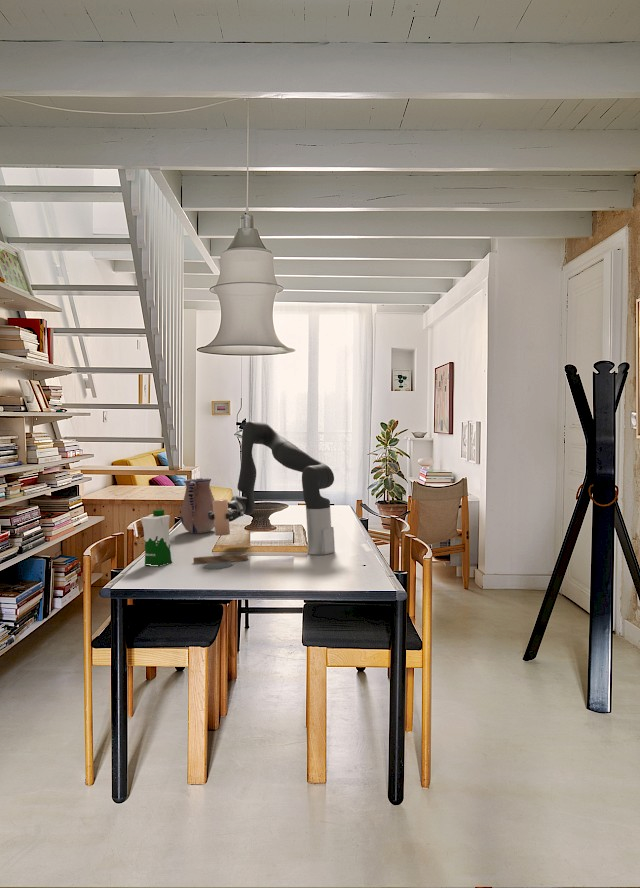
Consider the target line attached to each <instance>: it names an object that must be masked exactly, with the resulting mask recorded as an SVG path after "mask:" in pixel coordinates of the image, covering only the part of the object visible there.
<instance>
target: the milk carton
mask: <svg viewBox="0 0 640 888" xmlns="http://www.w3.org/2000/svg"><path fill="white" fill-rule="evenodd" d="M170 516H171V515H170V514H168V515H167V514H165V509H154V510H152V515H146V516H144V517H140V521H141V524H142V528H143V539H144V540H143V541H144V565H145V564H151V565H158V566H160V565H163V564H166V565H168V564H167V563H169V564H172V563H171V562H172V555H171V554H172V553H171V541H170V540H171V539H170V518H171V517H170ZM163 566H164V565H163ZM160 567H161V566H160Z"/></svg>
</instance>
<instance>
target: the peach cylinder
mask: <svg viewBox="0 0 640 888" xmlns="http://www.w3.org/2000/svg"><path fill="white" fill-rule="evenodd" d="M228 502H229V501H228V499H226V498H225V499H214V501H213V513H214V536H220V537H221V536H228V535H230V534H231V531H230V522H229V519H226V513H228Z"/></svg>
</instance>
